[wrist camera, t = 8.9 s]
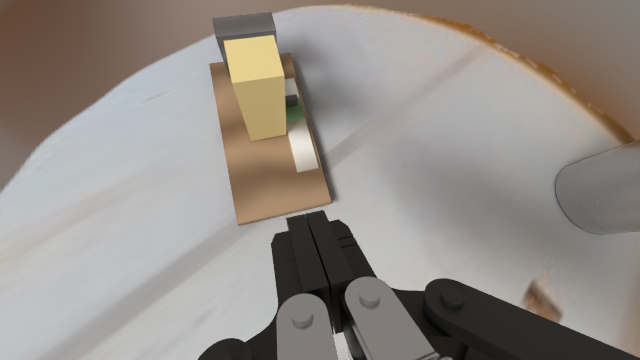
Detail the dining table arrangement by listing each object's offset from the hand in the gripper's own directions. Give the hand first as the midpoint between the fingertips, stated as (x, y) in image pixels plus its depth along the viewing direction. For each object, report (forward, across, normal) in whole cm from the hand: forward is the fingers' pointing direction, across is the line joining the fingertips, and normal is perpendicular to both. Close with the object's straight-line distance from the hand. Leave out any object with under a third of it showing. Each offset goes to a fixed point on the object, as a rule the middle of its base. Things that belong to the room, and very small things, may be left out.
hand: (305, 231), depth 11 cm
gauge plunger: (+23, -1, 0) cm, 23 cm away
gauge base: (+22, 0, +3) cm, 23 cm away
